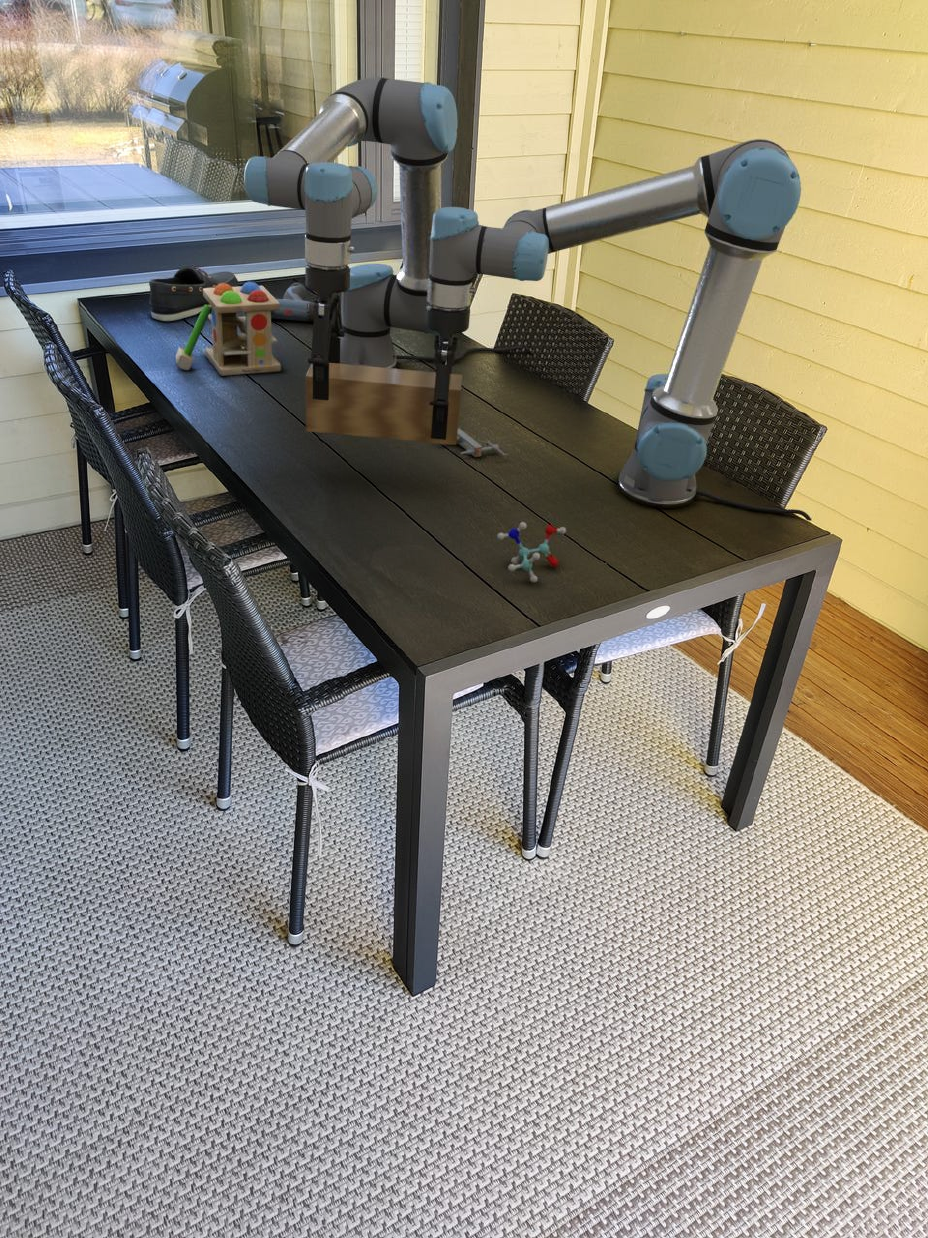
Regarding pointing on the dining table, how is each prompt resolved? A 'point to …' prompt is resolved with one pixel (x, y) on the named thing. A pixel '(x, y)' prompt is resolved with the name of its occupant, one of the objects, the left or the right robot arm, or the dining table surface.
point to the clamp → (475, 445)
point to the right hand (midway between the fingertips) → (439, 428)
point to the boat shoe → (184, 292)
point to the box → (381, 403)
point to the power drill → (294, 305)
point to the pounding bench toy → (229, 347)
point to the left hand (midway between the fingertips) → (326, 385)
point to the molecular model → (525, 552)
